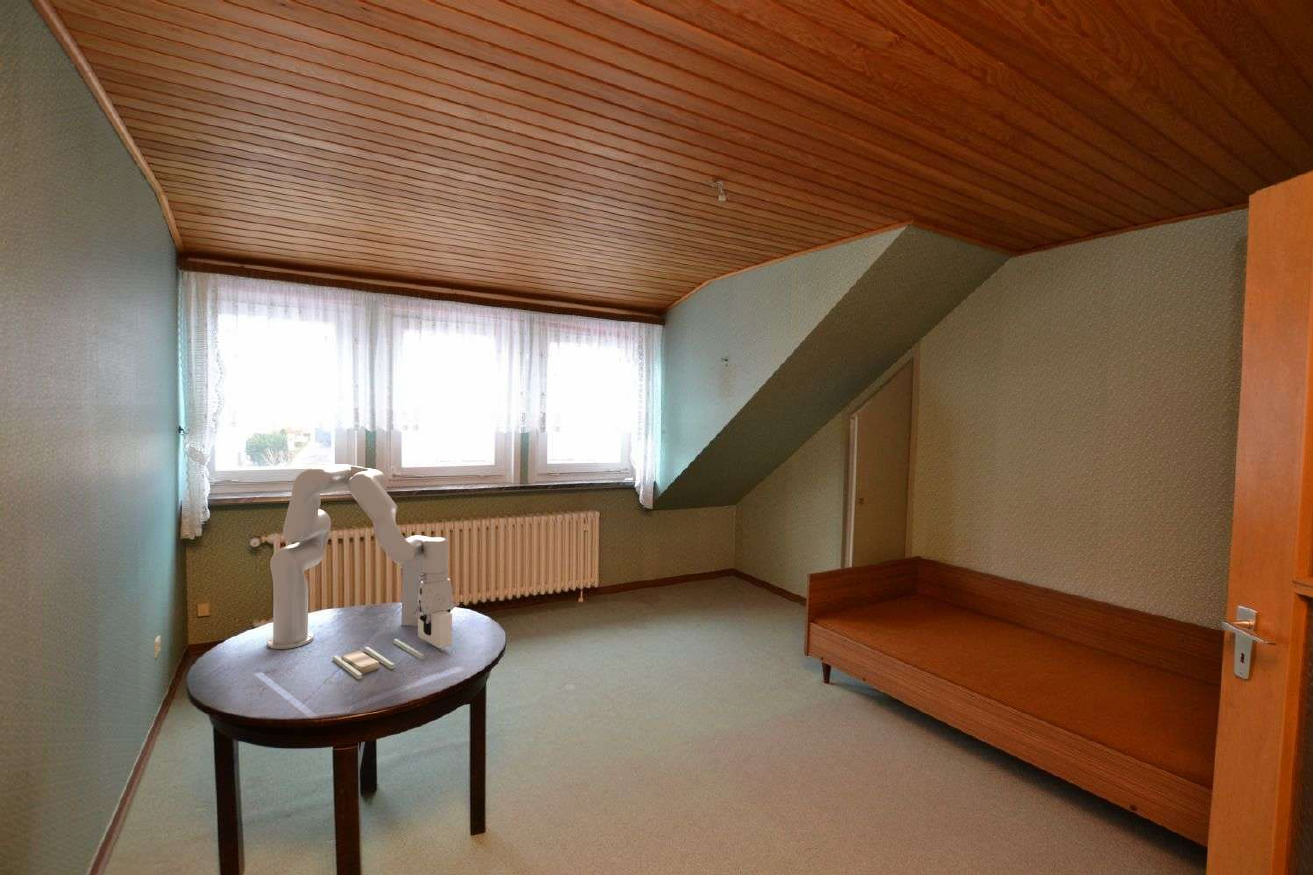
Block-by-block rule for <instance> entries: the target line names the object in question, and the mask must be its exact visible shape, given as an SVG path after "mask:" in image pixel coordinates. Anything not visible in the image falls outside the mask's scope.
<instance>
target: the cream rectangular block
mask: <svg viewBox="0 0 1313 875" xmlns="http://www.w3.org/2000/svg"><path fill="white" fill-rule="evenodd" d="M420 615H423V613H422V612H420ZM430 623H431V635H429V636H428V635H427V634H425V633H424V631H423V625H424V622H423V621H422V620H420V619H419V618H418V626H417V637H418V638H420V639H422V640H423V641H425V642H427V643H430V644H431V645H433V646H435V647H436V648H438V649H443V648H446V647H449V646H452V642H453V641H452V637H453V635H452V634H453V628H452V627H453V613H451V612H450V613H449V612H447V611H441V612H437V613H433V614H431V617H430Z"/></svg>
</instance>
